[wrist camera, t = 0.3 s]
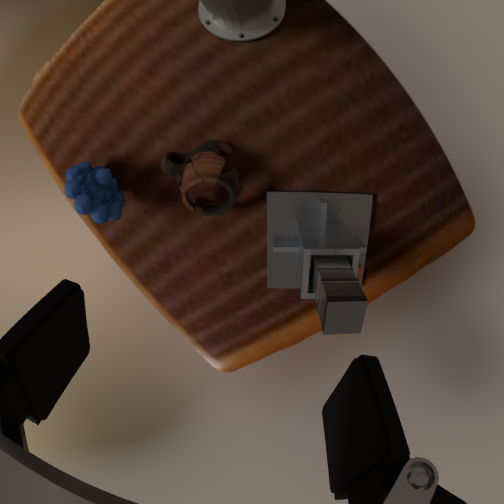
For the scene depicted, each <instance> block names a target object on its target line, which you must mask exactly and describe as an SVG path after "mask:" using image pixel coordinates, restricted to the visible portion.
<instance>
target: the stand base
mask: <svg viewBox="0 0 504 504" xmlns="http://www.w3.org/2000/svg"><path fill="white" fill-rule="evenodd" d="M372 200H373V195H372V194H371V193H355V192H329V191H267V288H299V289H300V296H301V299H315V294H314V289H313V285H312V280H311V276H310V274H309V268H310V255H345V256H346V258H347V260H348V262H349V264H350V266H351V268H353V269H354V274H355V276H356V278H357V279H359V284H360V286H361V283H362V277H363V271H364V265H365V258H366V251H367V244H368V236H369V228H370V220H371V210H372Z"/></svg>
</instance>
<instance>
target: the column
mask: <svg viewBox="0 0 504 504" xmlns="http://www.w3.org/2000/svg"><path fill="white" fill-rule="evenodd" d="M309 274H310V276H311V280H312V285H313V289H314V294H315V301H316V303H317V307H318V309H317V312H318V314H319V316H320V321H321V326H322V331H323V334H350V333H360V332H361V329H362V324H363V320H364V316H365V311H366V307H367V302H368V301H367V298H366V296H365V294H364V292H363V290H362V288H361V286H360V284H359V279H357V278H356V276H355V274H354V269H353V268H351V266H350V264H349V262H348V260H347V258H346V256H345V255H310V268H309Z"/></svg>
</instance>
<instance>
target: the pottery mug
mask: <svg viewBox="0 0 504 504" xmlns="http://www.w3.org/2000/svg"><path fill="white" fill-rule="evenodd" d="M219 150H222V151H225V152H227V153H228V154H231V153H232V148H231V146H230V145H228V144H227V143H224V142H220V141H207V142H203V143H201V144H200V145H198V146H197V147H196V148H195V149H193V150H192V151H191V152H189V153H177V152H170V153H167V154H166V155H165V156H163V157H162V158H161V169H162V170H163V172H164V173H165V174H167V175H169V176H172V177H173V178H175V179H176V180H177V182H178V183H181V182H182V185H181V186H180V190H181V193H182V200H183V202H184V204H185V205H186V207H187V208H189V209H190V210H192V211H194V210H195V207H196V208H199V209H203V210H202V214H203V215H205V216H214V215H220V214H223V213H225V212H227V211H228V210H230V209H231V208H232V207H233V206H234V204H235V202H236V200H237V198H238V197H239V195H240V193H241V192H242V189H243V186H241V187H239V188H236V187H237V186H238V183H239V178H238V177H239V172H238V170H237V169H236V168H235V167H234V168H233V169H232V171H230V172H227V173H224V174H221V171H222V169H223V167H224V165H225V163H226V161H225V159H224V157H223V156H221V155H220V151H219ZM190 160H191V161H192V162H191V163H189V161H190ZM202 182H212V183H218V184H220V185H222V186H223V187H225V188H226V189H227V190H228V192H229V193H230V199H229V201H228V202H227V203H225V204H223V205H219V206H212V205H206V202H205V200H204V199H202V198H194V200H193V202H192V201H191V200H190V199H189V197H188V191H189V189H190V188H191V187H192V186H194V185H196V184H198V183H202Z"/></svg>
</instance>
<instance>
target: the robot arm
mask: <svg viewBox="0 0 504 504" xmlns="http://www.w3.org/2000/svg"><path fill="white" fill-rule="evenodd" d="M285 9H286V2H285V0H200V1H199V6H198V13H199V17H200V20H201V22H202V24H203V25H204V27H205V28H206V29H207V30H208V31H209V32H210V33H212V34H213V35H214V36H217V37H219V38H221V39H224V40H227V41H233V42H247V41H253V40H256V39H259V38H262V37H264V36H266V35H268V34H270V33H271V32H272V31H274V30H275V29H276V28H277V27H278V26H279V25H280V23H281V21H282V20H283V18H284V15H285ZM274 20H277V21H274ZM209 23H211V24H210V25H208V24H209ZM241 36H244V38H241ZM89 351H90V344H89V336H88V329H87V321H86V311H85V301H84V292H83V290H82V289H81V287H80V285H79V284H77V283H75V282H72V281H69V280H67V279H64V280H62V281H61V282H60V283H59V284H58V285H57V286H55V287H54V288H53V289H52V290H51V291H50V292H49V293H48V294H46V295H45V296H44V297H43V298H42V299H41V300H40V301H39V302H38V303H37V304H36V305H35V306H34V307H33V308H31V309H30V310H29V311H28V312H27V313H26V314H25V315H24V316H23V317H22V318H21V319H20V320H19V321H18V322H17V323H16V324H15V325H14V326H13V327H12V328H11V329H10V330H9V331H8V332H7V333H6V334H5V335H4V336H3V337H2V338H1V339H0V504H138V503H135V502H132V501H129V500H126V499H123V498H121V497H118V496H116V495H113V494H111V493H108V492H106V491H103V490H101V489H98V488H96V487H94V486H92V485H89V484H87V483H85V482H83V481H81V480H79V479H77V478H75V477H73V476H71V475H69V474H67V473H65V472H63V471H61V470H59V469H57V468H55V467H53V466H52V465H50V464H48V463H47V462H45V461H43V460H41V459H40V458H38V457H37V456H35V455H33V454H32V453H30V452H29V449H28V445H27V440H26V435H25V430H24V425H23V423H24V421H25V420H26V418H27V419H29V420H31V421H32V422H34V423H36V424H37V425H39V423H40V422H41V420H45V419H46V418H47V417H48V416H49V414H50V412H51V411H52V409H53V407H54V406H55V404H56V402H57V401H58V399H59V398H60V396H61V395H62V393H63V392H64V390H65V388H66V387H67V385H68V384H69V382H70V381H71V379H72V378H73V376H74V375H75V373H76V372H77V370H78V369H79V367H80V366H81V364H82V363H83V361H84V360H85V359H86V357H87V356H88V353H89ZM322 416H323V425H324V433H325V441H326V451H327V461H328V471H329V482H330V490H331V492H332V493H334V494H335V500H340V499H341V500H342V499H348V503H349V504H467V503H466V502H465V501H463V500H461V499H460V498H458V497H457V496H455V495H453V494H451V493H450V492H448V491H447V490H445V489H444V488H442V487H441V486H439V485H438V479H439V478H438V472H437V470H436V467H435V466H434V465H433V464H432V463H431V462H430V461H429V460H427V459H425V458H420V457H416V458H412V459H411V460H410V456H409V455H410V451H409V448H408V445H407V441H406V438H405V435H404V431H403V428H402V425H401V422H400V419H399V416H398V413H397V410H396V407H395V404H394V401H393V398H392V395H391V392H390V390H389V387H388V384H387V381H386V378H385V376H384V373H383V370H382V368H381V365H380V362H379V360H378V358H377V357H375V356H368V355H360V356H359V357H358V358H355V359H354V360H353V361H352V363H351V364H350V366H349V368H348V369H347V371H346V372H345V374H344V376H343V377H342V379H341V380H340V382H339V383H338V385H337V386H336V388H335V390H334V391H333V393H332V394H331V396H330V397H329V399H328V400H327V402H326V403H325V404H324V406H323V410H322Z"/></svg>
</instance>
